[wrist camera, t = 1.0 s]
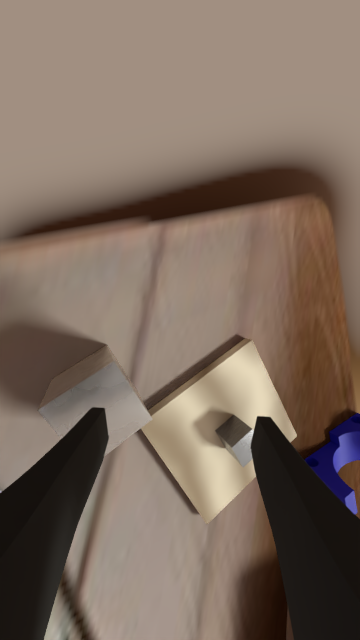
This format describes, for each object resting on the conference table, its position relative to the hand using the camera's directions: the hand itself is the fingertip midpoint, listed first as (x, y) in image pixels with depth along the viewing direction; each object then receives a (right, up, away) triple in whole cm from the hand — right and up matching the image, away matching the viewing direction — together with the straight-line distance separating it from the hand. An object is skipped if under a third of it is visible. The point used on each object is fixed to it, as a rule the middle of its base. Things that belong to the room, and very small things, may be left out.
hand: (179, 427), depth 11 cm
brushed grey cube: (-7, 0, +9) cm, 12 cm away
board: (+5, -7, +14) cm, 17 cm away
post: (+5, -7, +13) cm, 16 cm away
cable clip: (+21, -12, +22) cm, 33 cm away
